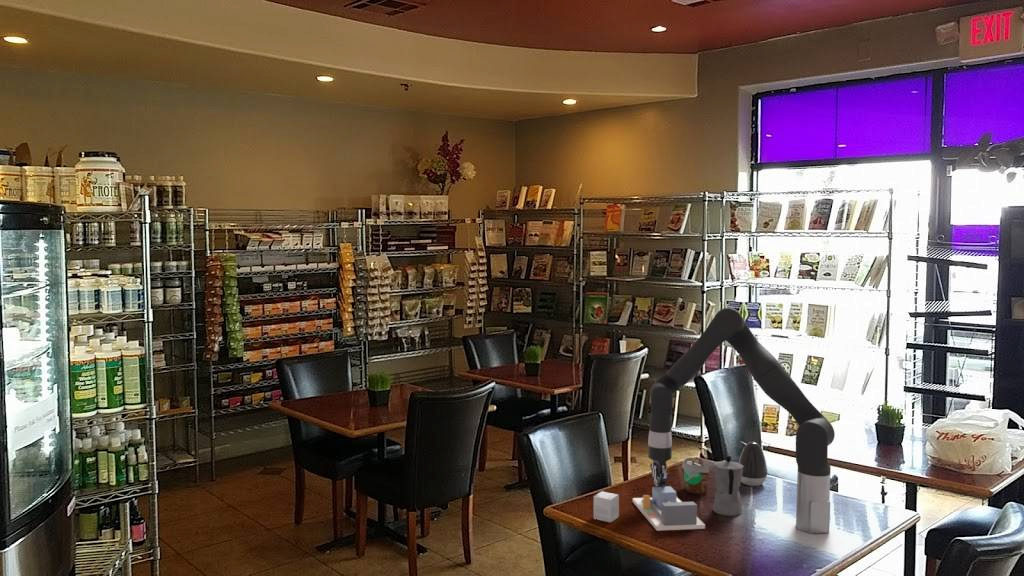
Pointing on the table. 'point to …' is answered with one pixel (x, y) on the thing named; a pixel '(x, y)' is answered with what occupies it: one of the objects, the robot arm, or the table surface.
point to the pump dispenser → (753, 464)
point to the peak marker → (646, 501)
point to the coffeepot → (728, 487)
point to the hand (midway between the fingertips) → (658, 496)
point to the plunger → (663, 495)
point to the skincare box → (606, 506)
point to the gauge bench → (658, 522)
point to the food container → (695, 476)
